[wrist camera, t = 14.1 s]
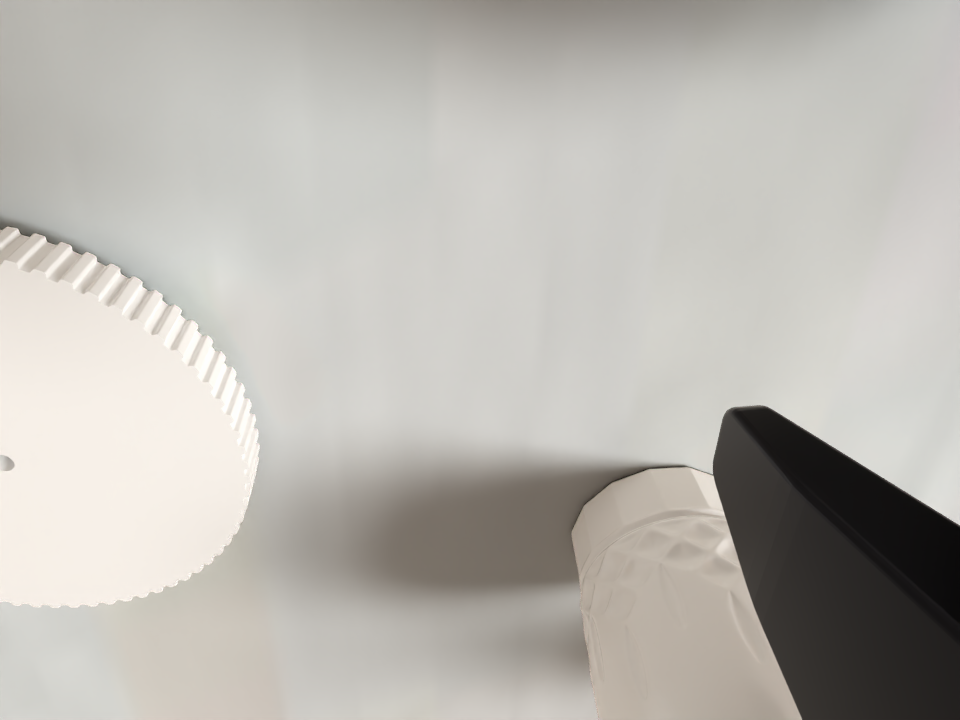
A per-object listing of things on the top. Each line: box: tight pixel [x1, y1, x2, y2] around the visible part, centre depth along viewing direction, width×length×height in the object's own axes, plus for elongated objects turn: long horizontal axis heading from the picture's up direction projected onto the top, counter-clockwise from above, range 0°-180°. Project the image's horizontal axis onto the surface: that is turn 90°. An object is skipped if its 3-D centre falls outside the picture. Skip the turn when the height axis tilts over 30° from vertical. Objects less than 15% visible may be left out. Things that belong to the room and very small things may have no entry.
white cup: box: [571, 467, 802, 720], centre depth 23 cm, size 8×8×10 cm
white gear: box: [0, 226, 259, 608], centre depth 21 cm, size 14×14×2 cm
